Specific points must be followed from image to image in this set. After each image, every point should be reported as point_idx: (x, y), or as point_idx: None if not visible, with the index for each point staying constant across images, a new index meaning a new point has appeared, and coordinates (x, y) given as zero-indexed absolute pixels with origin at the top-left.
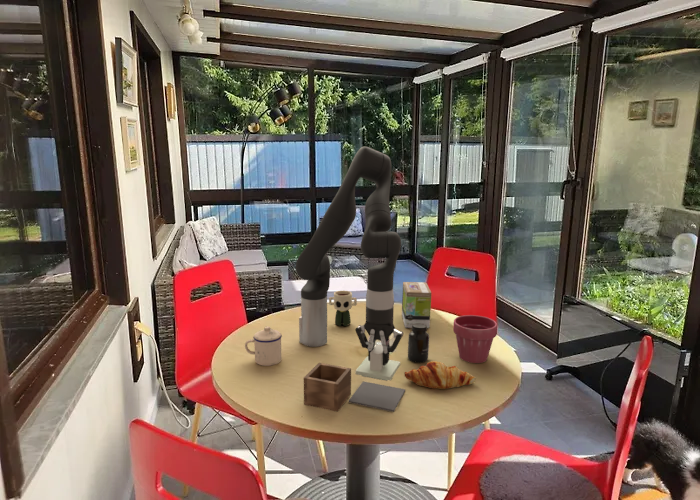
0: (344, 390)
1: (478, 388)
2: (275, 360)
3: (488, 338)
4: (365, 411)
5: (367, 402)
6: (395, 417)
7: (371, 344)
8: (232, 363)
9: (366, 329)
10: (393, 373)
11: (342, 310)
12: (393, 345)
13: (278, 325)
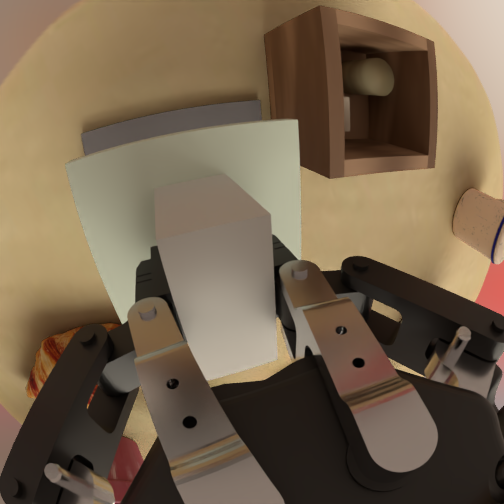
0: (291, 90)
1: (15, 372)
2: (464, 207)
3: None
4: (175, 77)
5: (190, 121)
6: (65, 107)
7: (308, 303)
8: (492, 173)
9: (457, 394)
10: (82, 222)
11: None
12: (67, 384)
13: None
